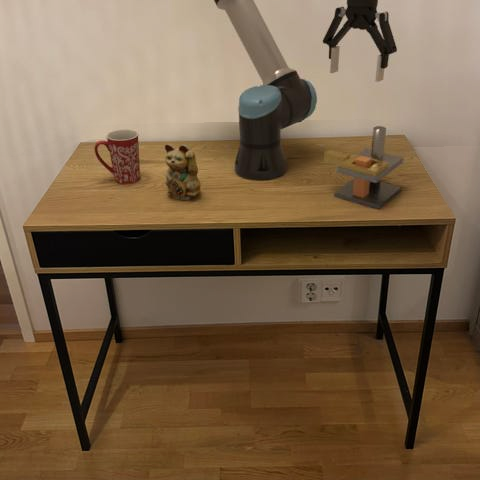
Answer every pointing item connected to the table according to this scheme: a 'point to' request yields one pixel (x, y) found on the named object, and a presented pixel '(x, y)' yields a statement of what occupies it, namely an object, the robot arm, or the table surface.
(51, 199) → the table surface
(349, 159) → the grey and yellow stand
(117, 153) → the mug
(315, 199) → the table surface
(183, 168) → the decorative figurine
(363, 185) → the wedge pin
